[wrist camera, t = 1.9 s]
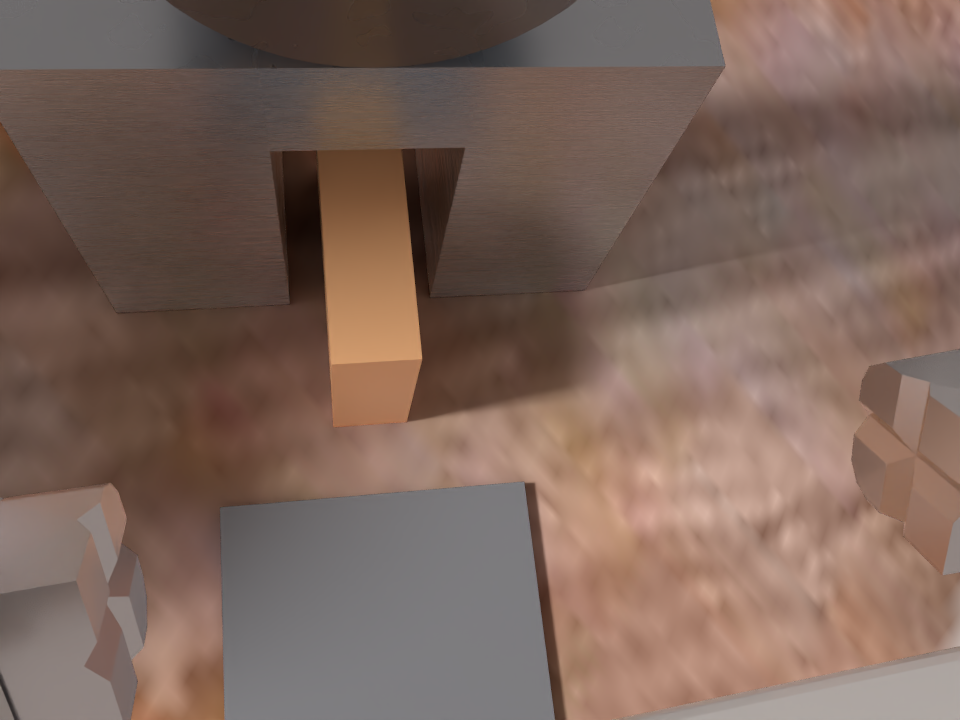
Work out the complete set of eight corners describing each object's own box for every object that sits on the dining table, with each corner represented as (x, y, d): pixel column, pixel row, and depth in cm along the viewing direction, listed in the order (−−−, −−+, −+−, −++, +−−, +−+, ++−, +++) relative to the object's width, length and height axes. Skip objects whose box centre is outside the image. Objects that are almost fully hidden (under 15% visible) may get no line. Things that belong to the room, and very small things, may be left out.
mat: (562, 802, 34) (566, 804, 33) (229, 852, 32) (228, 854, 31) (521, 484, 38) (524, 481, 37) (221, 509, 36) (219, 507, 35)
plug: (406, 422, 38) (422, 359, 30) (333, 427, 37) (331, 364, 30) (383, 169, 42) (392, 57, 34) (317, 170, 41) (311, 57, 34)
